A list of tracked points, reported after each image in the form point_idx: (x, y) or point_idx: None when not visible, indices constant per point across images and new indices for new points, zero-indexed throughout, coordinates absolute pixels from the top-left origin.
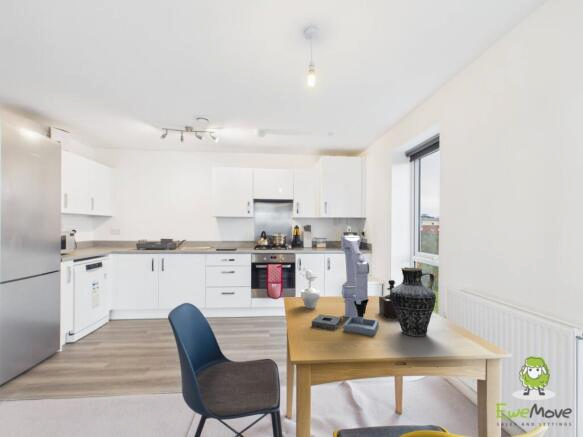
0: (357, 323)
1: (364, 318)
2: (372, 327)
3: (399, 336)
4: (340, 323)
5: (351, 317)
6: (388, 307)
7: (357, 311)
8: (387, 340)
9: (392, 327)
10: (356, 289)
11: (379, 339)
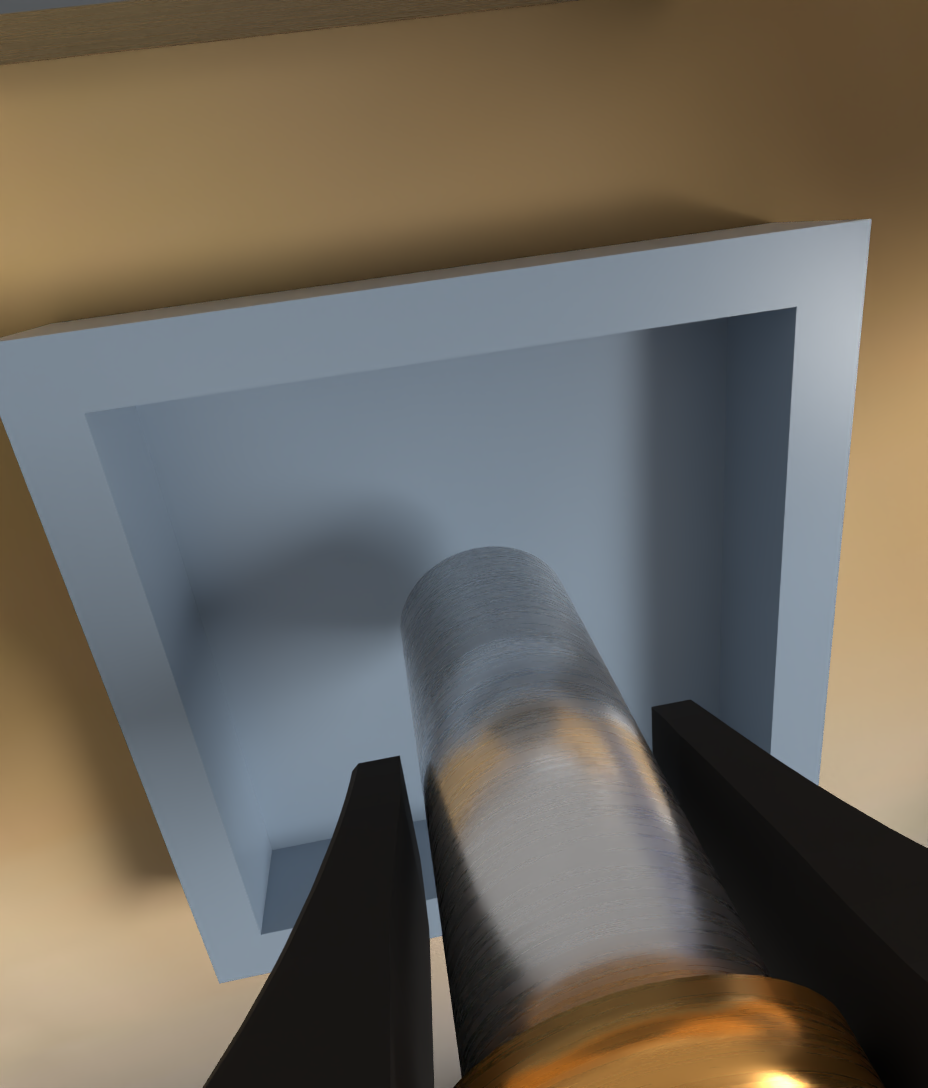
0: (680, 443)
1: (817, 609)
2: None
3: (461, 1077)
4: (525, 2)
5: (775, 289)
6: None
7: (307, 902)
8: (209, 1038)
9: None
10: None
11: (165, 964)
